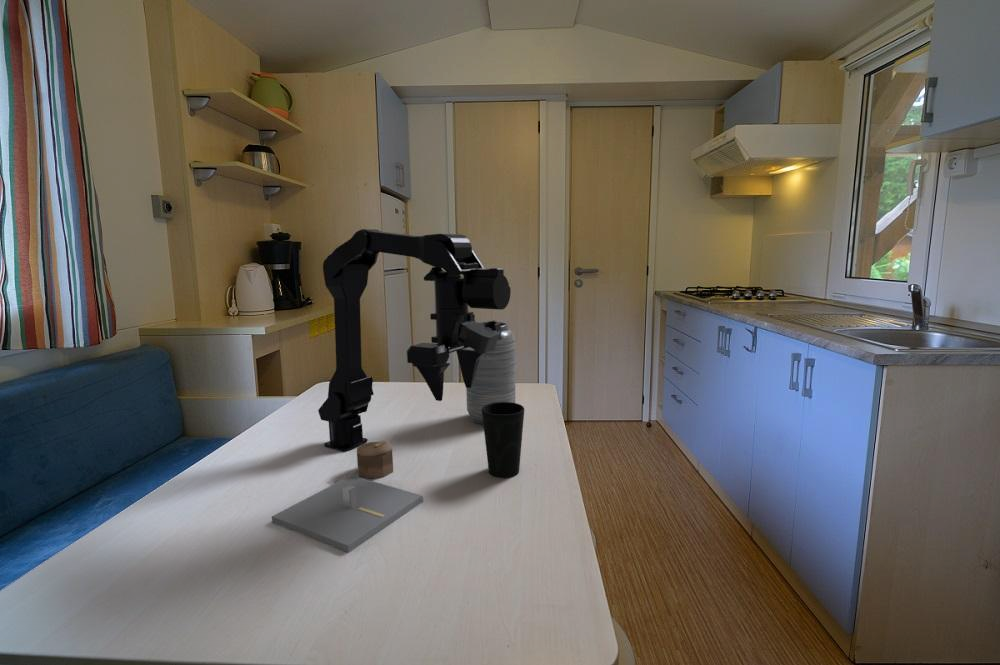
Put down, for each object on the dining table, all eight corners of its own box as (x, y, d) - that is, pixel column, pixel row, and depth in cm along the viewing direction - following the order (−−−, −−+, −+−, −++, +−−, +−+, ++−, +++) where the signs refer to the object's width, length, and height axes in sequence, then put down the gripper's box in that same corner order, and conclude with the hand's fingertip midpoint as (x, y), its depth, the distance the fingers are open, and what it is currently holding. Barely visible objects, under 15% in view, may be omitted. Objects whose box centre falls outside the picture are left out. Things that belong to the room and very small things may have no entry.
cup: (494, 484, 88) (493, 417, 86) (476, 468, 95) (474, 405, 93) (532, 474, 91) (532, 410, 90) (512, 459, 98) (511, 399, 96)
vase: (524, 416, 124) (523, 322, 120) (498, 430, 114) (497, 329, 110) (484, 408, 130) (483, 319, 126) (457, 421, 120) (454, 325, 117)
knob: (376, 481, 90) (375, 455, 89) (351, 473, 93) (349, 449, 92) (399, 467, 95) (398, 443, 94) (375, 461, 98) (373, 437, 97)
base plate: (272, 522, 77) (269, 497, 76) (351, 480, 90) (350, 459, 90) (348, 552, 69) (346, 524, 68) (423, 501, 82) (422, 478, 82)
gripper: (459, 315, 77) (462, 415, 79) (517, 303, 93) (518, 386, 95) (402, 312, 82) (407, 405, 85) (466, 301, 98) (468, 380, 101)
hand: (454, 393), depth 91 cm, fingers open, 9 cm apart
